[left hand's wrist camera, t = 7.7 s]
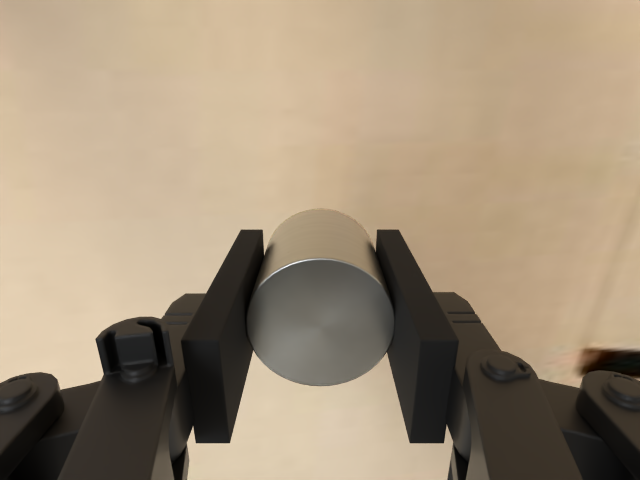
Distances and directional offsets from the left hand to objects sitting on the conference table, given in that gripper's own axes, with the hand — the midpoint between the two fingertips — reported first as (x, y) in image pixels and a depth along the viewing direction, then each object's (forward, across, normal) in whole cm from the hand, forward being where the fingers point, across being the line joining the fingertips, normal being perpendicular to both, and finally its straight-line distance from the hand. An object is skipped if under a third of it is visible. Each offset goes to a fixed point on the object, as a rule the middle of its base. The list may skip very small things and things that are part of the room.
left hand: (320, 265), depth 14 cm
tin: (0, 0, 0) cm, 0 cm away
